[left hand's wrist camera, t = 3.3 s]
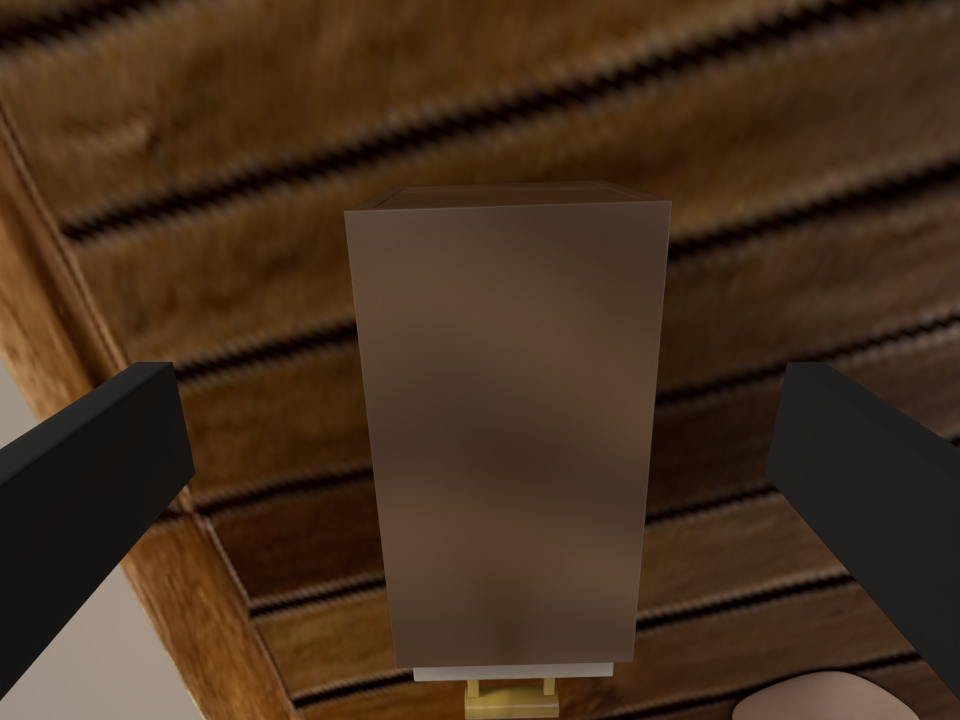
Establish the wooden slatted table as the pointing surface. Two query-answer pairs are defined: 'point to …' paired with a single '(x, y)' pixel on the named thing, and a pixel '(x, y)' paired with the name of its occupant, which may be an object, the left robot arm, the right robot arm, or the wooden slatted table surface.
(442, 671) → the drawer
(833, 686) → the anatomical model
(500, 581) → the cabinet
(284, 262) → the wooden slatted table surface
